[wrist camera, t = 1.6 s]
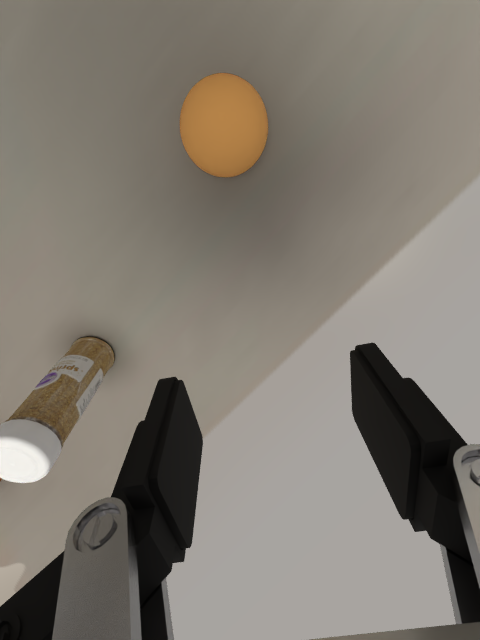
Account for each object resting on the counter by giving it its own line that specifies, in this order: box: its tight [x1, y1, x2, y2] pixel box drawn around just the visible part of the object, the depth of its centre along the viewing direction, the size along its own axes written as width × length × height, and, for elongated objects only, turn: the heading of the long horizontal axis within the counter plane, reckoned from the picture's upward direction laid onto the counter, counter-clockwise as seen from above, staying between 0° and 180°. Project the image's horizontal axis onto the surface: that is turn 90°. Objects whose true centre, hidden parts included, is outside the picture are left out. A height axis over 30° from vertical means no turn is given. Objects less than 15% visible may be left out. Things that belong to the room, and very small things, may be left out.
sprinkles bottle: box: [0, 337, 114, 483], centre depth 26 cm, size 5×5×14 cm
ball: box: [180, 73, 268, 177], centre depth 21 cm, size 6×6×6 cm
